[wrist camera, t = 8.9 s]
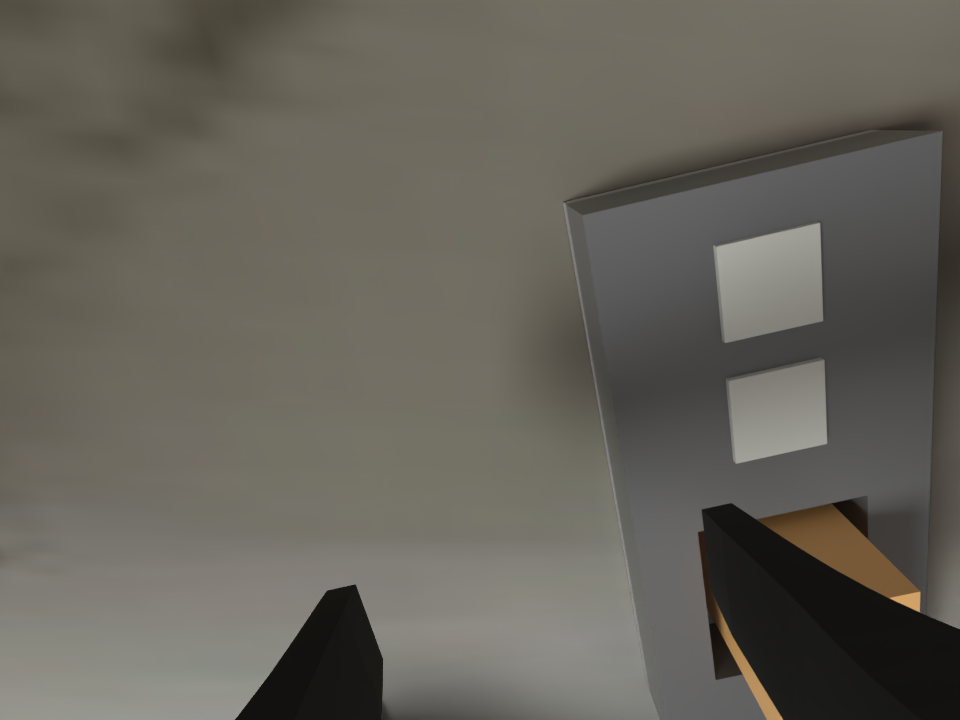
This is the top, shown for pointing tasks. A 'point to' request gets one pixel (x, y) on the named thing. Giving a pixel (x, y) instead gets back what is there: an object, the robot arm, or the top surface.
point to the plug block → (834, 546)
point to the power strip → (761, 370)
